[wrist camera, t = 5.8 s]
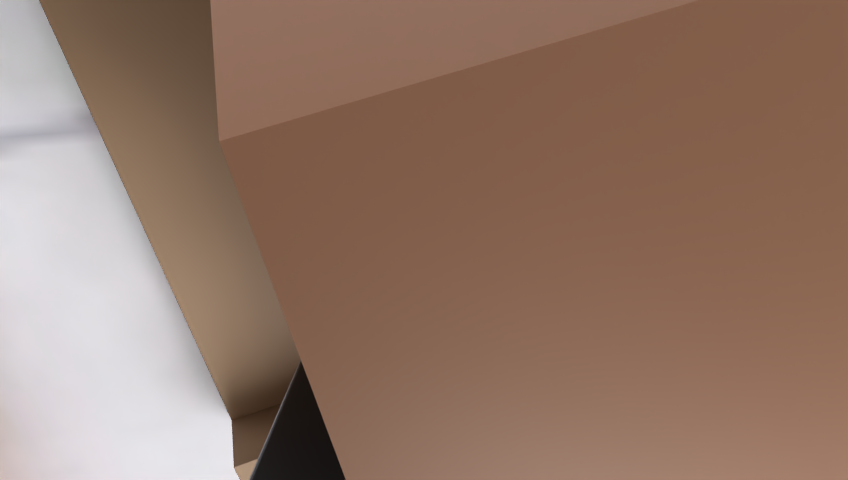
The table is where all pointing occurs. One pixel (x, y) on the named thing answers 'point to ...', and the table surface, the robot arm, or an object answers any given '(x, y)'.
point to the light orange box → (553, 229)
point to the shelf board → (184, 191)
